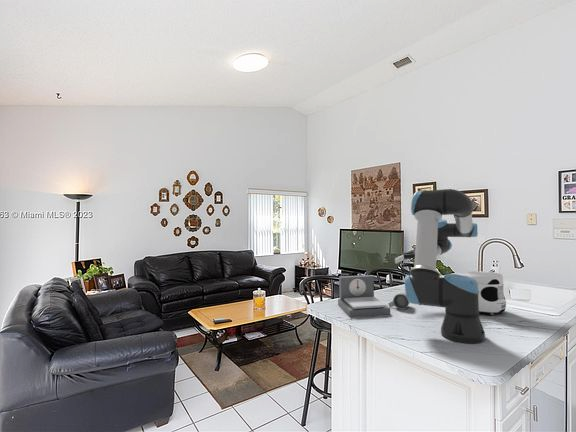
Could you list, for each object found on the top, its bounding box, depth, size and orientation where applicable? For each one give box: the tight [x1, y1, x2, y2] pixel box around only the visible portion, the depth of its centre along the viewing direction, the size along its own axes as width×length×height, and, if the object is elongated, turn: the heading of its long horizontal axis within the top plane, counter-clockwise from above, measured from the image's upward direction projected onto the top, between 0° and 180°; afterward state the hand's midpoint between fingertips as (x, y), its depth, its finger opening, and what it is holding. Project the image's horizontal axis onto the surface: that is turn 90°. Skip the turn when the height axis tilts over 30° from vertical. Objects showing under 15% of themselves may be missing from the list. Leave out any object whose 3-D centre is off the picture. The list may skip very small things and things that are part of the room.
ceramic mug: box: [388, 291, 411, 310], centre depth 169 cm, size 11×8×8 cm
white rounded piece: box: [465, 270, 507, 315], centre depth 158 cm, size 17×17×18 cm
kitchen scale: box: [337, 274, 391, 318], centre depth 166 cm, size 22×20×15 cm
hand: (406, 263), depth 170 cm, fingers open, 13 cm apart
